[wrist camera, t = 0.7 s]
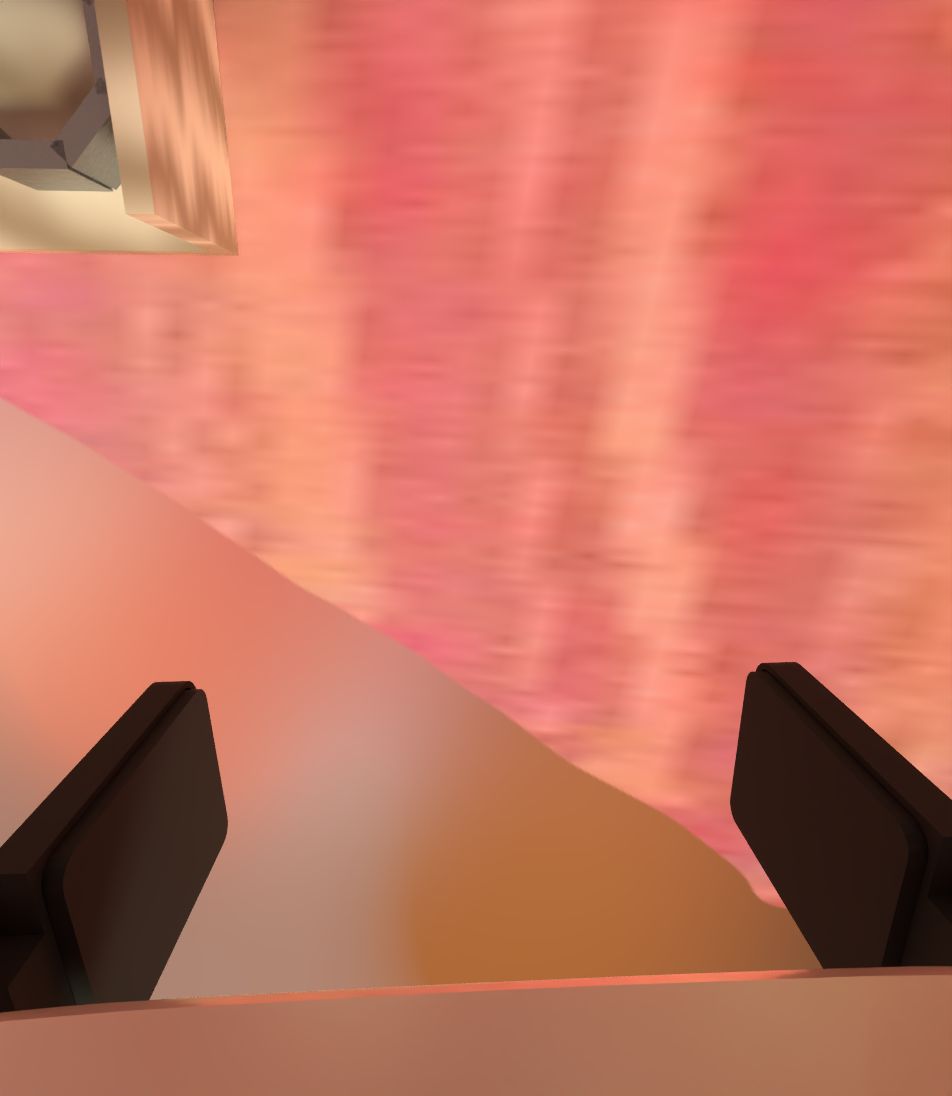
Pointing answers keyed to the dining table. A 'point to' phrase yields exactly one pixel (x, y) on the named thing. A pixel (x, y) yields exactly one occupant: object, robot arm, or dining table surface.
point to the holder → (112, 129)
